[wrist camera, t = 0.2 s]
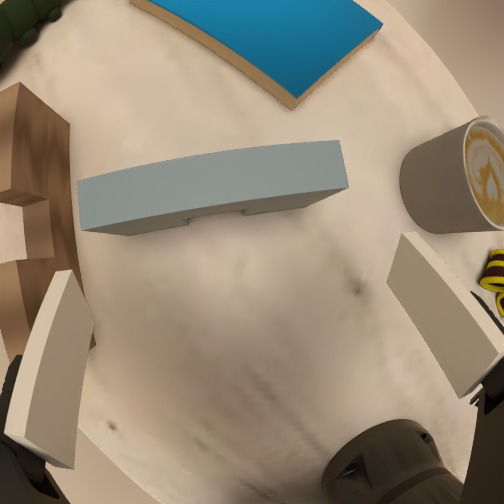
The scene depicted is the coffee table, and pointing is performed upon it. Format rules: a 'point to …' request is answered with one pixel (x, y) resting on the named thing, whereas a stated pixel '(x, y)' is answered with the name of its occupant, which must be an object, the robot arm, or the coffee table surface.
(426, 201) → the coffee mug
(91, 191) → the slate plate
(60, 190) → the walnut board
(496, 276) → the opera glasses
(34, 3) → the toy figurine
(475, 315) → the robot arm
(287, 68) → the book
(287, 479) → the coffee table surface
